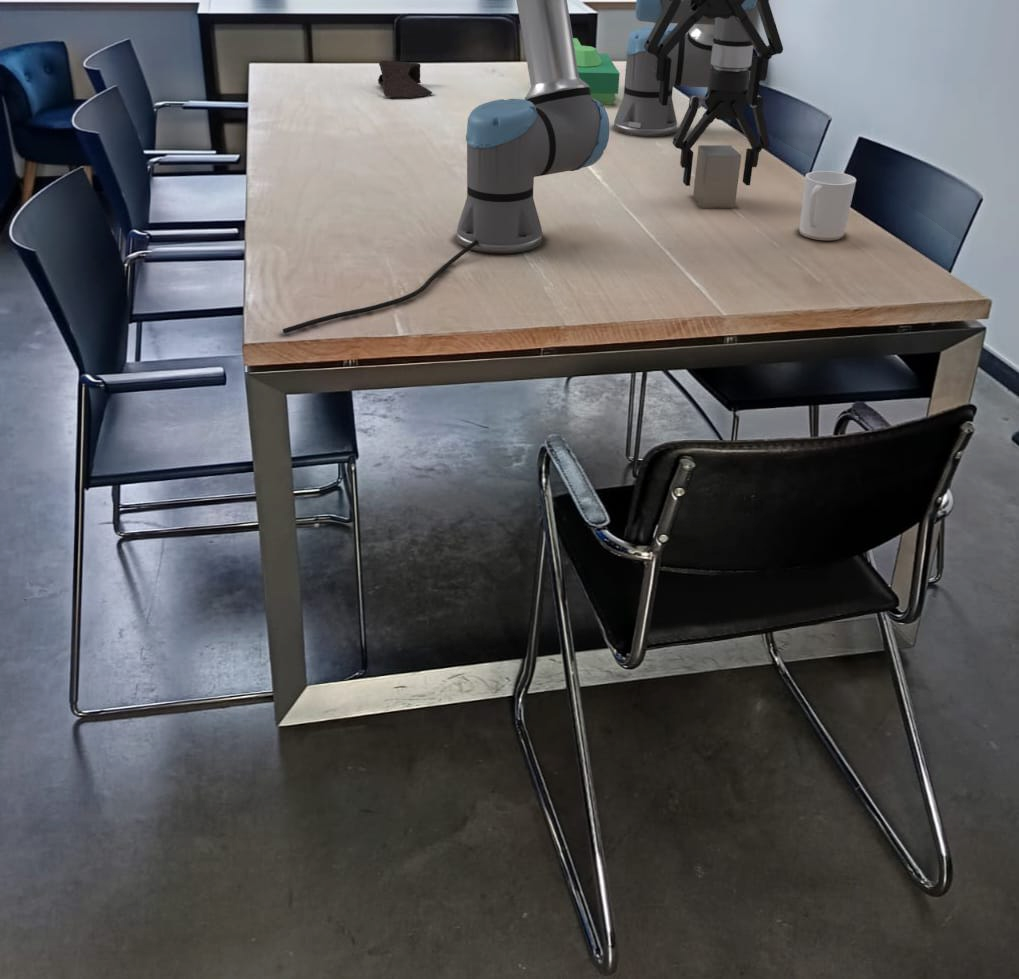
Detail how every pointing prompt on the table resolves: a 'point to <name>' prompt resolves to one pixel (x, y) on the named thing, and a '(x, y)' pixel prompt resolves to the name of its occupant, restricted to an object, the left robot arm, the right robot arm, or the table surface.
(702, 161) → the brick
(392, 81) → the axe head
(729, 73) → the right robot arm
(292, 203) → the table surface
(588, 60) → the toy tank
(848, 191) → the mug
